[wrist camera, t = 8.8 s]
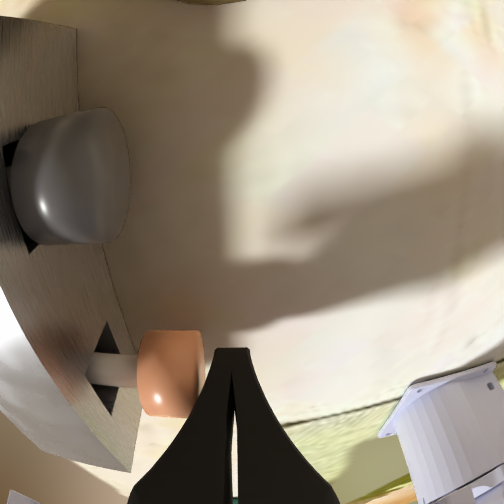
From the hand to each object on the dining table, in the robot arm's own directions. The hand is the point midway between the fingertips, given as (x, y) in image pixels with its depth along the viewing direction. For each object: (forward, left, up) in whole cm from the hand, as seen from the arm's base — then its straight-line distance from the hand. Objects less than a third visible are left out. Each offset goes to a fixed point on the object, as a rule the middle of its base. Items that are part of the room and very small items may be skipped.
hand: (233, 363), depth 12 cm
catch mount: (+8, -4, -2) cm, 9 cm away
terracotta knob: (+5, 0, -1) cm, 5 cm away
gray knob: (+7, -8, -1) cm, 10 cm away
